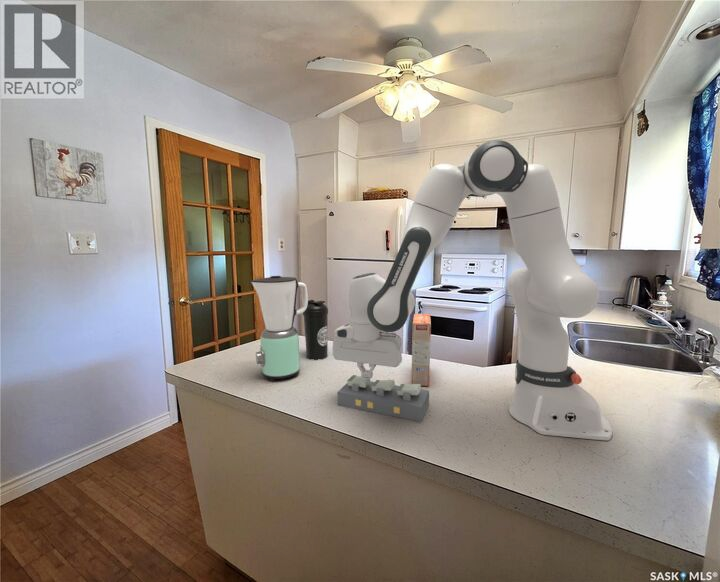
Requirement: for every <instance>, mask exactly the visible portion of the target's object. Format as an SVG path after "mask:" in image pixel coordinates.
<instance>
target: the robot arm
mask: <svg viewBox="0 0 720 582" xmlns="http://www.w3.org/2000/svg"><path fill="white" fill-rule="evenodd" d="M552 176H553V175H552V174H551V171H550V169H549V168H548V167H547V166H545V165H543V164H539V163H529V162H528V161H527V160H526V159H525V158H524V157H523V156H522V155H521V154H520V153H519V151H518V150H517V149H516V147H515V146H514V145H512V143H510V142H509V141H505V140H502V139H494V140H489V141H487V142H484V143H482V144H481V145H479V146H478V147H477V148H476V149H475V150H473V151H472V152H471V154H470V155H469V156H468V157H467V158H466V160H465V161H464V162H463V163H462V164H460V165H456V166H455V165H454V164H450V163H439V164H436V165H434V166H432V167H431V168H430V169H429V171H428V173H427V174H426V176H425V177H424V179H423V181H422V182H421V185H420V187H419V188H418V191H417V193H416V195H415V198H414V200H413V203H412V205H411V208H410V210H409V213H408V217H407V220H406V224H405V227H404V233H403V236H402V239H401V244H400V246H399V250H398V252H397V255H396V257H395V259H394V261H393V263H392V266H391V269H390V271H389V272H388V276H387V277H386V279H385V278H383V277H381V276H380V275H379V274H378V273H377V272H367V273H363V274H359V275H356V276H354V277H353V278H352V279H351V280H350V283H349V291H348V298H349V299H348V306H349V310H350V316H349V323H346V324H343V325H340V326H339V327H337V328H336V329H334V330H333V335H334V338H333V342H332V358H334V360H337V361H342V362H349V363H350V362H352V363H356V364H357V365H356V366H357V368H358V370H359V372H360V375H361V377H365V378H370V379H372V378H373V376H374V375H373V374H374V372H373V371H374V370H375V368H376V366H383V367H390V368H397V367H398V366H400V365H401V363H402V362H403V358H402V357H403V356H402V349H401V348H402V344H403V343H402V342H403V341H402V338H401V336H400V335H398V334H397V333H396V332H397V331H399V330H400V329H402V328H403V327H404V325H405V324H406V322H407V320H408V318H409V317H410V315H412V313H413V311H414V309H415V306H416V298H415V295H414V293H413V291H412V288H413V286H414V284H415V281H416V279H417V277H418V274H419V273H420V270H421V268H422V266H423V264H424V262H425V260H426V259H427V258H428V257H429V256H430V254H431V253H432V252H433V251H434V250H435V249H436V248H437V247H439V245H440V244H441V243H442V242H443V241H444V239H445V237H446V236H447V234H448V233H449V231H450V229H451V227H452V225H453V223H454V221H455V219H456V216H457V214H458V212H459V209H460V207H461V205H462V203H463V201H464V200H465V199H466V198H467V197H475V198H477V197H479V198H482V197H487V196H492V195H495V194H497V195H499V197H501V198H502V200H503V203H505V204H504V205H505V206H506V212H507V213H506V214H507V219H508V223H509V229H510V233H511V239H512V244H513V248H514V251H515V253H517V255H518V256H519V257H520V259H521V260H522V261H523V263H524V265H525V266H524V267H521V268H517V269H516V270H514V271H513V272H512V273H511V274H510V276H509V277H508V279H507V283H506V288H507V292H508V294H509V295H510V298H511V300H512V302H513V304H514V309H515V315H516V319H517V325H518V333H519V334H518V336H519V338H518V339H519V340H518V358H517V359H516V363H515V370H514V371H515V372H514V379H515V385H514V391H513V395H512V399H511V401H510V404H509V406H508V412H509V414H510V415H511V417H512V418H514V419H515V420H517V421H519V423H522V424H524V425H526V426H528V427H530V428H531V429H532V430H534V431H535V432H536V433H537V434H539V435H543V436H544V435H545V436H553V437H554V436H555V437H565V438H566V437H567V438H576V439H584V440H585V439H586V440H587V439H588V440H596V441H610V440H611V439H612V437H613V429H612V426H611V423H609V421H608V420H607V418H606V417H605V416H604V415H603V414H602V413H601V409H600V408H601V407H600V406H599V403H598V402H597V400H596V399H595V397H594V396H593V395H592V394H590V393H589V392H588V391H587V390H586V389H585V388H583V387H582V386H580V385H581V384H582V377H581V376H580V375H579V374H578V373H577V372H576V370H575V369H573V368H572V367H571V365H568V364H569V363H568V362H569V361H568V360H569V353H570V352H569V351H570V336H569V335H568V332H567V331H566V329H565V328H564V326H563V324H562V321H561V318H565V319H566V318H567V319H579V318H583V317H585V316H587V315H589V314H591V312H593V310H594V309H595V308H596V306H597V305H598V301H599V300H600V299H599V298H600V291H599V287H598V285H597V283H596V282H595V281H594V279H592V278H591V277H590V276H589V275H588V274H586V272H585V271H584V270H583V269H582V267H581V265H580V264H579V263H578V261H577V259H576V257H575V256H574V253H573V251H572V249H571V247H570V245H569V242H568V239H567V236H566V232H565V226H564V222H563V221H564V220H563V216H562V210H561V204H560V198H559V195H558V191H557V188H556V185H555V182H554V179H553V177H552ZM364 364H367V365H368V367H369V368H370V369H366V367H365V366H364Z"/></svg>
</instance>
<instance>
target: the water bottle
mask: <svg viewBox="0 0 720 582" xmlns="http://www.w3.org/2000/svg"><path fill="white" fill-rule="evenodd" d="M324 303H325V304H324ZM302 315H303V325H304V326H303V328H304V336H305V337H304V338H305V340H304V341H305V351H306V353H305V354H306V359H308V358H309V359H308V360H311V359H314V360H313V361H319V360H318V359H321V360H324V359H327V357H328V354H329V352H328V351H329V349H328V340H329V338H328V336H329V335H328V332H329V331H328V327H329V326H328V315H329V308H328V306H327V305H326V301H325V300H317V301H315V299H308V306H307V308H306V310H305V311H304V312H303V313H302ZM323 358H324V359H323Z"/></svg>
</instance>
